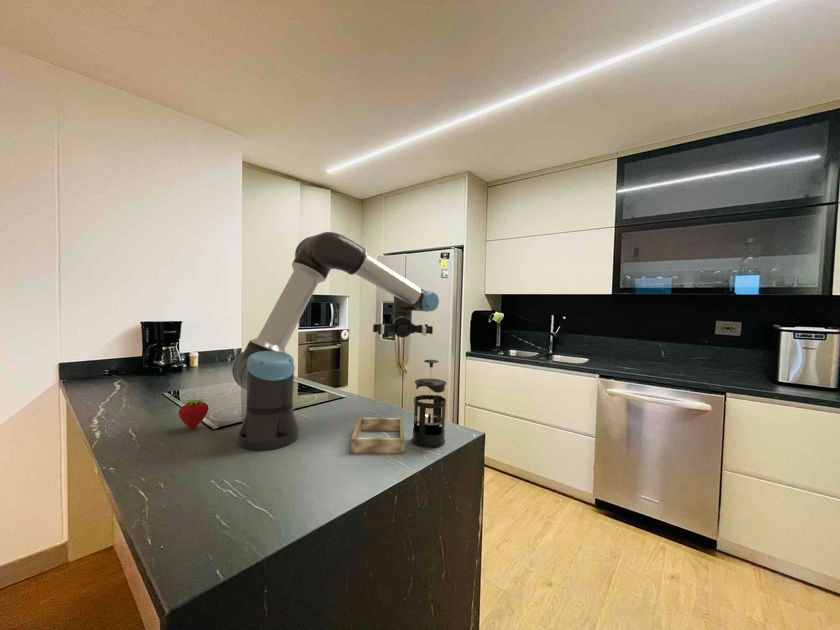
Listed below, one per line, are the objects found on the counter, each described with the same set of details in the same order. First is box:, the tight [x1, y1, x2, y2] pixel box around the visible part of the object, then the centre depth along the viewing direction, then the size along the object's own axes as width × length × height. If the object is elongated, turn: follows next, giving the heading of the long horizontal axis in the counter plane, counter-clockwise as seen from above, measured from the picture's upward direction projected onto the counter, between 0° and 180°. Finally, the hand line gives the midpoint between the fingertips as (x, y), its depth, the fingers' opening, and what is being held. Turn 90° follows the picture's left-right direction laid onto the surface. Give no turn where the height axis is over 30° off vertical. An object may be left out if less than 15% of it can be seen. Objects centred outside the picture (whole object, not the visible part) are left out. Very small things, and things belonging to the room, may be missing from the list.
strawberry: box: [178, 395, 210, 430], centre depth 97 cm, size 6×8×10 cm
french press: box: [411, 359, 447, 449], centre depth 95 cm, size 12×9×23 cm
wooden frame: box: [350, 417, 405, 454], centre depth 94 cm, size 14×17×4 cm
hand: (403, 330), depth 107 cm, fingers open, 13 cm apart
